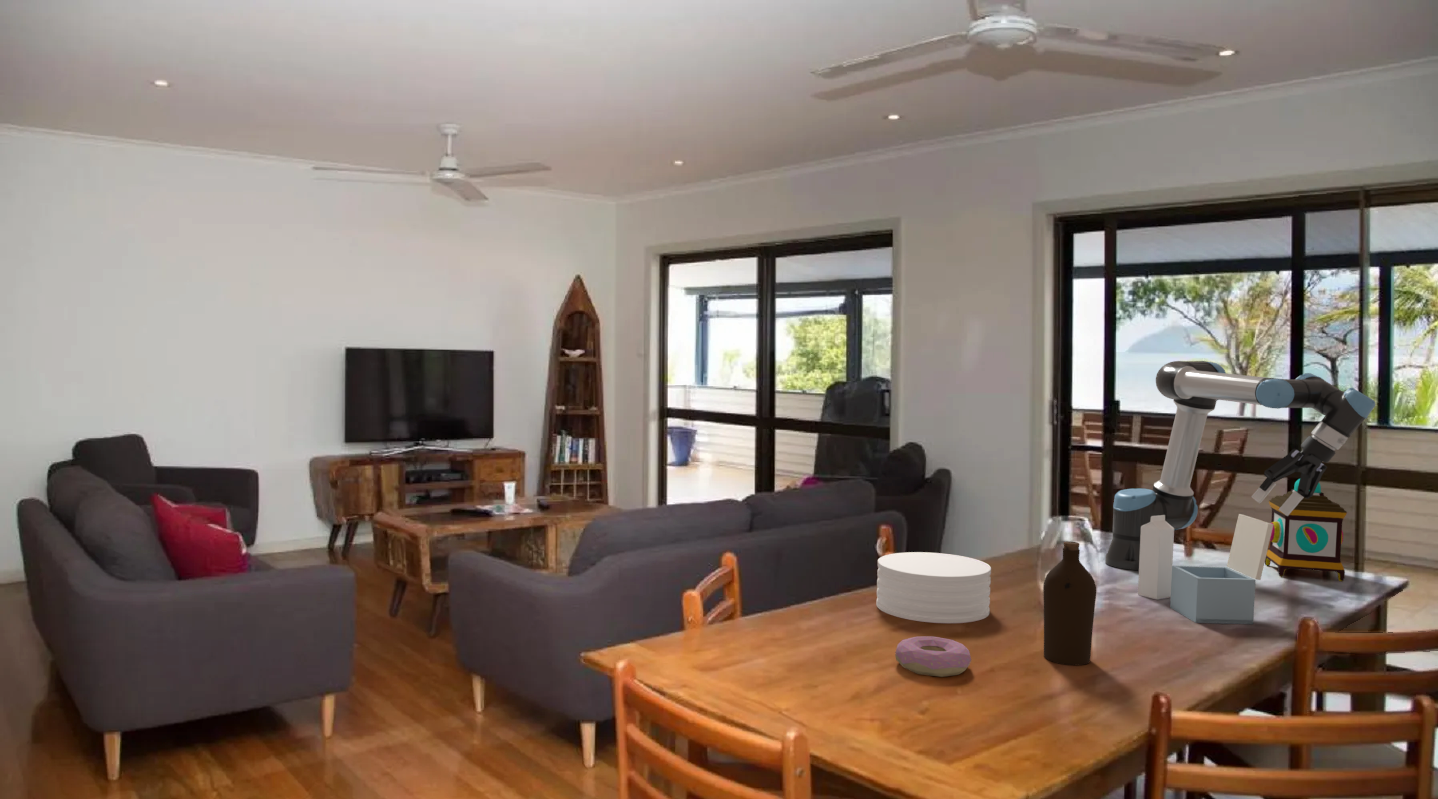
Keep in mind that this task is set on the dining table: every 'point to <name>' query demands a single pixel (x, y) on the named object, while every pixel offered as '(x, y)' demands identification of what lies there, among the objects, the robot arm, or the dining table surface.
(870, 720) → the dining table surface
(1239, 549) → the lid
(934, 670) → the donut
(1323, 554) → the decorative lantern
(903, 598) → the plate stack
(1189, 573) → the box
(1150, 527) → the milk
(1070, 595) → the olive oil
